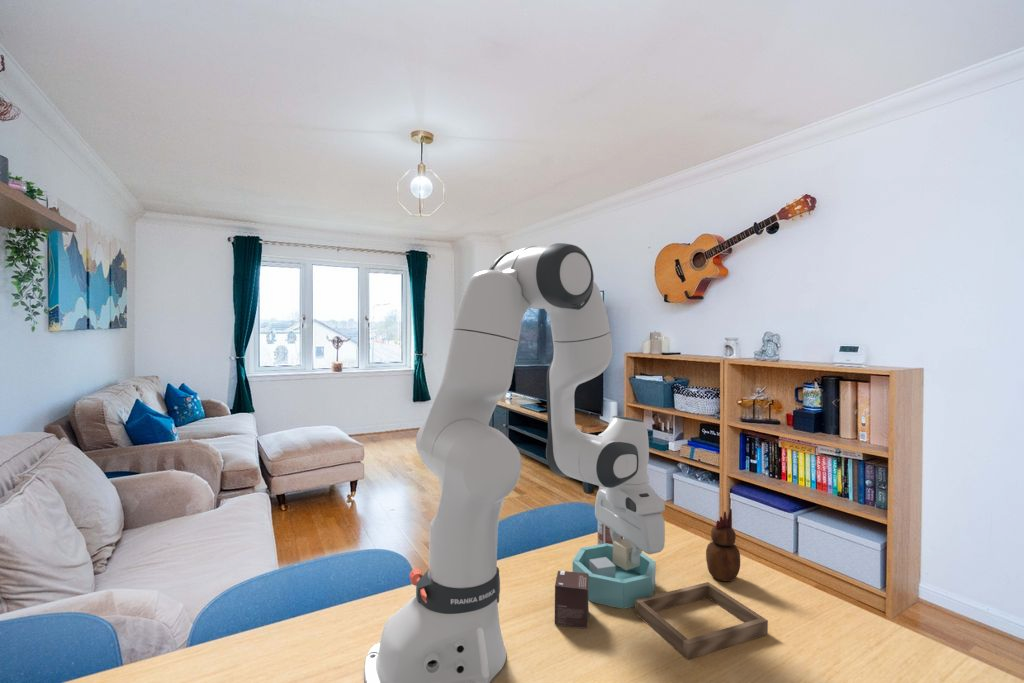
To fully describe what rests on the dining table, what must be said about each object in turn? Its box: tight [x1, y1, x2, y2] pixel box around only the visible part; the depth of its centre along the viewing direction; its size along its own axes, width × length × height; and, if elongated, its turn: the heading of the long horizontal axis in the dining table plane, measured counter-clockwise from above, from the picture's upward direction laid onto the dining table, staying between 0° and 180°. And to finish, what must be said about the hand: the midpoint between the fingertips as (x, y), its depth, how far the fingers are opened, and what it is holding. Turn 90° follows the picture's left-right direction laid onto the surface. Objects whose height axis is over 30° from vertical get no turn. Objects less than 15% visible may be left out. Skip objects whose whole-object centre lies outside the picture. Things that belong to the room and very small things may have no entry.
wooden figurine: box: [705, 508, 741, 582], centre depth 104 cm, size 7×6×15 cm
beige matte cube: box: [613, 538, 640, 570], centre depth 102 cm, size 4×4×4 cm
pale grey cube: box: [589, 557, 615, 578], centre depth 100 cm, size 4×4×4 cm
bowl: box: [572, 543, 657, 610], centre depth 101 cm, size 16×16×5 cm
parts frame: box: [634, 581, 769, 661], centre depth 88 cm, size 18×14×2 cm
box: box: [554, 570, 589, 629], centre depth 89 cm, size 6×6×7 cm
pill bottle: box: [597, 520, 624, 545], centre depth 118 cm, size 6×6×11 cm
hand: (626, 556), depth 102 cm, fingers closed on beige matte cube, 4 cm apart
